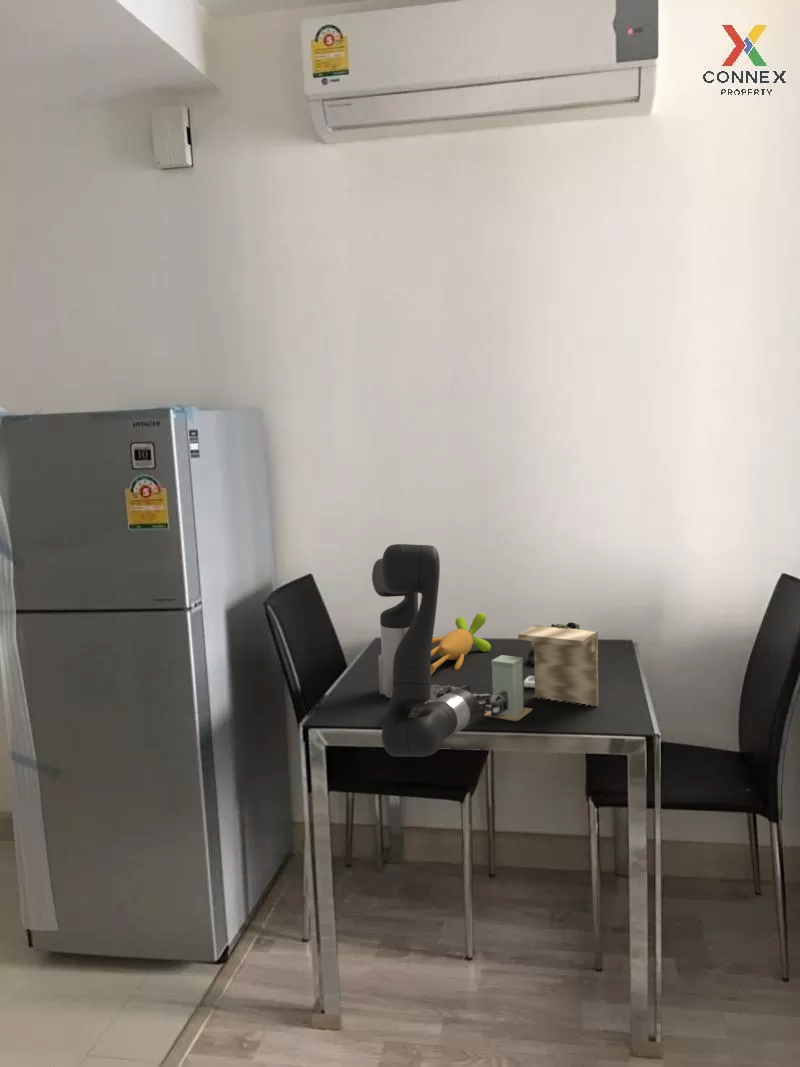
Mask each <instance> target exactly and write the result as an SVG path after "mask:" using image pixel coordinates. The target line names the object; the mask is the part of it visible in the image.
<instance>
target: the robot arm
mask: <svg viewBox="0 0 800 1067" xmlns="http://www.w3.org/2000/svg"><path fill="white" fill-rule="evenodd" d="M439 554H440V553H439V551H438V549H437V548H436V547H435V546H433V545H429V544H411V543H410V544H409V543H396V544H391V545H389V546H388V547H387V548H386V549H385V550H384V552H383V554H382V558H379V559H377V560H376V561H375V563H374V564H373V567H372V572H371V580H372V586H373V589H374V591H375V593H376V594H377V595H378V596H379V597H385V598H388V597H389V598H390V597H391V598H392V597H404V598H403V600H401V601H400V602H399V603H397V604H396V605H394V606H393V607H392V606H391V607H390V608H387V609H386V610H384V611H382V612H381V613H380V616H379V620H380V621H379V622H380V624H379V625H380V642H381V643H380V645H381V653H380V654H379V655H378V678H379V679H378V680H379V681H378V682H379V695H382V694H383V696H384V695H385V696H384V697H386V698H389V699H390V700H389V703H388V704H389V705H388V707H387V712H386V715H385V719H384V722H383V725H382V731H381V742H382V745H383V748H384V750H385V751H386V752H387V753H388V754H389V756H392V757H396V758H397V757H398V758H399V757H403V758H404V757H406V758H407V757H409V758H410V757H411V758H412V757H413V758H414V757H418V758H420V757H429V756H431V755H434V754H435V753H437V752H438V750H439V749H440V747H441V745H442V744H443V742H444V740H445V739H447V738H448V737H450V736H451V735H454V734H457V733H459V732H460V731H462V730H463V729H465V728H466V727H468V726H470V725H471V724H473V723H475V721H476V720H477V717H478V716H479V714H482V713H487V712H488V711H490V712H491V715H492V716H497V715H499V714H501V713H503V712H504V711H506V710H508V694H507V692H506V691H502V692H500V693H498V694H497V695H493V694H490V693H481V694H478V693H471V684H464V685H462V686H460V687H457V686H456V687H455V690H451V687H446V688H444V689H443V690H441V691H439V692H438V693H436V700H435V701H434V702H433V703H431V704H429V705H428V706H426V707H424V708H423V709H421V710H420V711H419V712H418V713H417V714H416V716H415V717H409V715H410V712H411V710H412V708H413V707H414V706H416V705H419V704H422V703H425V702H427V701H428V700H429V698H430V686H431V677H432V675H431V665H432V664H431V659H432V657H431V650H432V646H433V644H432V638H434V630H435V625H436V624H435V622H436V614H437V606H438V605H437V604H438V596H439V586H440V572H441V571H440V567H441V566H440V565H441V563H440V555H439ZM419 594H421V599H420V604H419ZM485 699H486V700H485ZM493 699H496V701H495V702H494V701H493Z"/></svg>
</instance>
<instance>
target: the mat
mask: <svg viewBox="0 0 800 1067" xmlns="http://www.w3.org/2000/svg"><path fill="white" fill-rule="evenodd" d="M532 711H533V708H530V707H524V706H523V710H522V711H521V712H520V713H518V714H517V715H515V716H514V717H513V716H507V715H501V714H499V715H497V716H492V715H491V712H490V711H488V712H484V714H483V716H484V717H489V718H495V719H501V720H507V721H512V722H518V721H520V720H522V719H523V718H524V717H526V716H527V715H528V714H529V713H531V712H532Z"/></svg>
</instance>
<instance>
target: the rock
mask: <svg viewBox="0 0 800 1067" xmlns="http://www.w3.org/2000/svg"><path fill="white" fill-rule="evenodd" d="M446 687H451V690H455V688H456V687H455V686H454V685H452V684H451V685H450V684H448V685H445V686H442V685H439V684H430V698H429V700H428V701H427V702H425V703H422V704H419V705H416V706H414V707H413V708H412V710H411V712H410V715H409V717H415V716H416V714H417V713H418V712H419V711H420V710H421V709H423V708H424V707H426V706H428V705H429V704H431V703H433V702H434V701H435V700H436V693H438V692H439V691H441V690H443V689H444V688H446Z"/></svg>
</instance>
